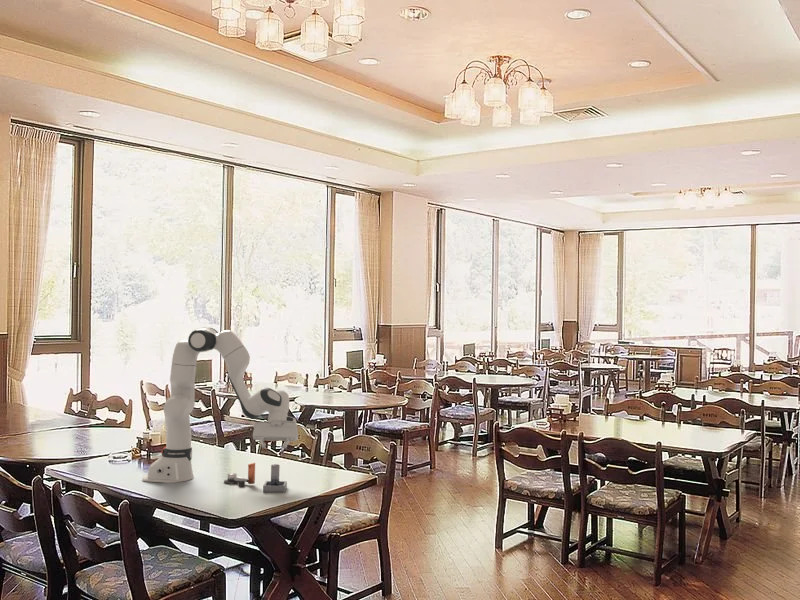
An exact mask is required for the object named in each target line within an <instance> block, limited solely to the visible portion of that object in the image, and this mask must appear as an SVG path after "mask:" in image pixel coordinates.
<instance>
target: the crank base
mask: <svg viewBox="0 0 800 600" xmlns="http://www.w3.org/2000/svg"><path fill="white" fill-rule="evenodd" d="M223 483H224V484H225V485H237V484H239V481H237V480H236V481H228V480H227V479H224V480H223Z"/></svg>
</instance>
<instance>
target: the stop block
mask: <svg viewBox="0 0 800 600" xmlns="http://www.w3.org/2000/svg"><path fill="white" fill-rule="evenodd" d="M238 487H240V488H243V487H246V482H245V481H244V480H240V481H239V483H238Z"/></svg>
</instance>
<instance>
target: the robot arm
mask: <svg viewBox="0 0 800 600" xmlns="http://www.w3.org/2000/svg"><path fill="white" fill-rule="evenodd" d="M187 338H188V339H183V340H180V341H177V343H176V345H175V347H174V350H173V352H172V353H173V354H172V359H171V367H170V377H169V383H170V397H169V398H167V399H166V401H164V405H163V413H164V421H165V423H164V424H165V428H166V429H165V430H166V431H165V432H166V435H165V436H166V437H165V438H166V441H165V442H166V443H165V444H166V446H164V447H163V448H162V449H161V451H160V452H161V456H160V457H158V459H156V460H155V461H153V462H152V463H151V464H150V465H149V467H148V471H147V474H145V475H143V477H142V482H148V483H149V482H150V483H167V484H175V483H179V482H185V481H191V480H193V479H194V478H195V476H194V473H193V472H194V471H193V465H192V458H193V450H192V449H193V447H192V427H191V420H190V414H191V413H192V412H193V411H194V408H195V405H196V403H195V399H196V398H195V396H196V395H195V393H196V391H195V390H196V388H195V382H196V381H195V380H196V372H197V362H198V356H199V354H200V353H205V352H210V351H212V350H216V351H217V352H218V353H219V354H220V356H221V358H222V359H223V360H224V363H225V364H226V368H227V376H228V380H229V382H230V384H231V387H232V389H233V391H234V393H235V395H236V398H237V400H238V401H239V403H240V407H241V411H242V413H243V415H244V416H246V417H247V418H249V419H251V420H257V419H259V418H260V417H261V416H262V415H263V414H264V413H266V412H268V417H267V421H257V422H255V423H254V424H253V430H252V431H253V432H252V439H253V440H254V441H260V443H261V449H265V448H266V442H264V441H272V442H278V441H279V442H284V443H282V448H283V449H287V447H288V445H289V444H290V443H291V442H297V441H298V440H299V430H298V425H297V424H298V423H297V422H298V421H297V418H295V417H292V416H289V415H288V414H289V410H290V397H289V394H288V393H287V392H286V391H284V390H281V389H278V390H274V389H272V388H270V387H263V388H261V389H260V390H258V391H256V393H254V394H253V395H251V393H250V392H249V388H248V387H247V385H246V383H245V380H244V376H245V372H246V370H247V368H248V367H249V364H250V360H251V355H250V353H249V351H248V350H247V348H246V346H245V344H244V343H243V342H242V341H241V339H240V338H239V337H238V336H237V335H236V333H234V332H233V331H232V330H230V329H226V330H222V331H220V332H218V330H216V329H215V328H213V327H199V328H197V329H194V330H192V332H191V333H189V336H188V337H187Z"/></svg>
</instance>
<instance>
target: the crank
mask: <svg viewBox="0 0 800 600" xmlns="http://www.w3.org/2000/svg"><path fill="white" fill-rule="evenodd" d="M237 475H238V474H237V473H235V472H232V473H231V472H230V473H227V479H226V480H228V481H236V480H237V481H240V480H244V481H245V483H247V484H248V485H254V484H255V482H256V481H255V480H256V462H252V463H248V464H247V477H241V476H237Z"/></svg>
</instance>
